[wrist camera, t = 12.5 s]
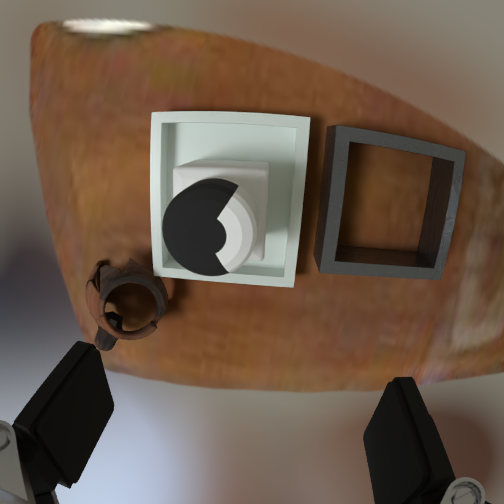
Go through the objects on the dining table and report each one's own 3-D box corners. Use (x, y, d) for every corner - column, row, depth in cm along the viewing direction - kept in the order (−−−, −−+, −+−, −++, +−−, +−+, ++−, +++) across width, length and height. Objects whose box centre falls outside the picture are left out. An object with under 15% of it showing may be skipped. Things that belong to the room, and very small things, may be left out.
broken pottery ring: (98, 234, 34) (99, 256, 27) (169, 258, 39) (188, 283, 32) (73, 323, 35) (72, 360, 28) (139, 339, 40) (152, 376, 33)
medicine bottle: (193, 231, 32) (153, 284, 20) (193, 159, 29) (147, 175, 18) (265, 234, 31) (262, 292, 20) (269, 161, 29) (269, 178, 18)
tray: (306, 119, 28) (310, 117, 25) (291, 275, 34) (293, 287, 31) (161, 113, 28) (151, 112, 26) (162, 265, 34) (153, 275, 31)
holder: (443, 148, 28) (465, 151, 23) (423, 263, 32) (440, 279, 28) (326, 126, 28) (336, 125, 24) (313, 254, 33) (319, 272, 28)
